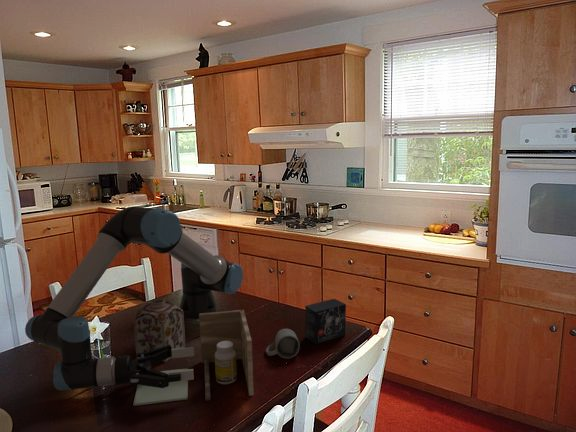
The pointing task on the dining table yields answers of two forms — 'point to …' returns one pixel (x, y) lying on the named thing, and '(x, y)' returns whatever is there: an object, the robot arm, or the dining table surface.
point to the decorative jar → (159, 326)
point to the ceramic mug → (284, 344)
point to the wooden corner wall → (226, 329)
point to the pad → (162, 392)
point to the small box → (325, 321)
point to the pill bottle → (225, 363)
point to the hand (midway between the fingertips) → (194, 362)
